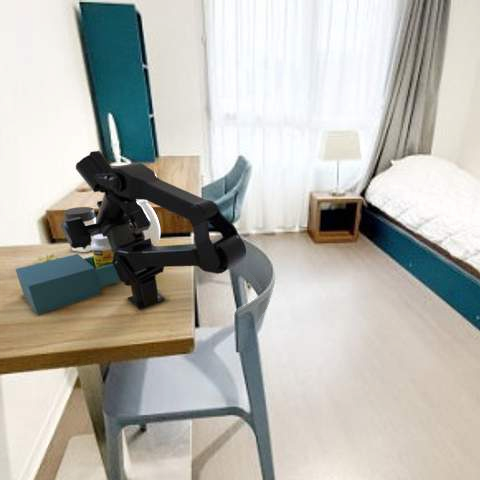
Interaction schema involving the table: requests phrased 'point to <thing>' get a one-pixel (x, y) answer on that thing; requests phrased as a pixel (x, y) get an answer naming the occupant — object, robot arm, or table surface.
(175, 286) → the table surface
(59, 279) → the cabinet
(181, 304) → the table surface
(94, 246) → the supplement bottle
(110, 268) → the drawer
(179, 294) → the table surface
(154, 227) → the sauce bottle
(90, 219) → the jar
